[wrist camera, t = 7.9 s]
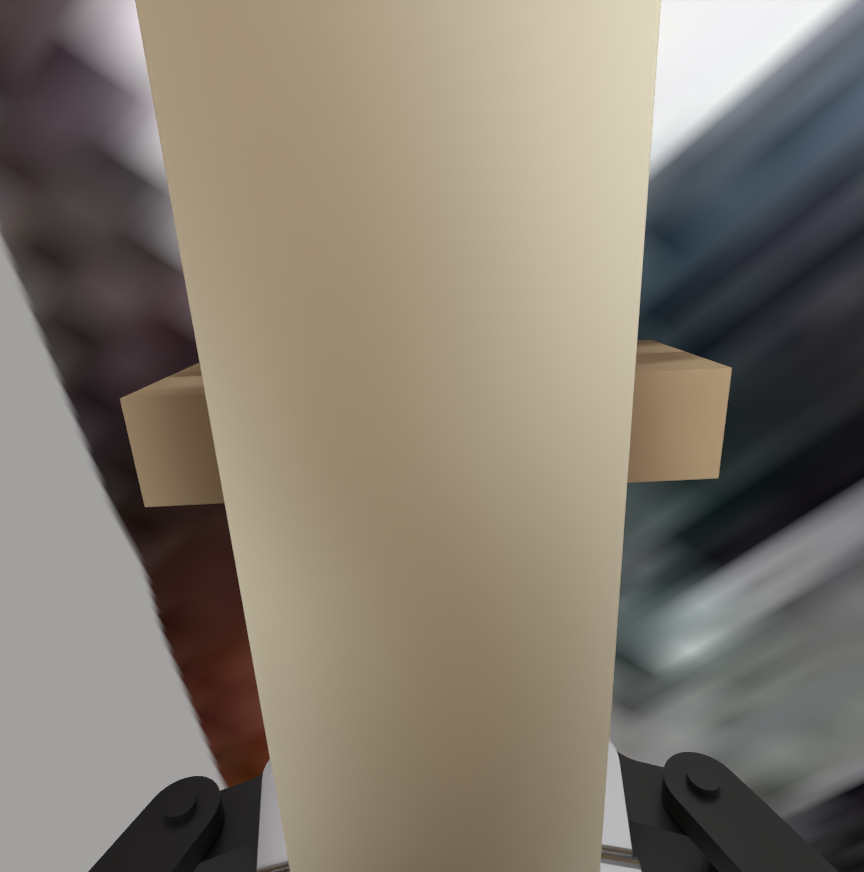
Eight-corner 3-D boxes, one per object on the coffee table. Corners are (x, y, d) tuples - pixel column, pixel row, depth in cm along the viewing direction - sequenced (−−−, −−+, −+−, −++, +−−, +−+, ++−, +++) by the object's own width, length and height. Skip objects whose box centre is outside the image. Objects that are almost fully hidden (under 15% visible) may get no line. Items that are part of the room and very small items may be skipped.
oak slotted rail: (650, 339, 22) (731, 367, 16) (644, 423, 23) (718, 478, 17) (199, 362, 22) (119, 398, 16) (214, 445, 23) (144, 507, 17)
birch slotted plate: (486, 176, 13) (665, -53, 4) (492, 656, 17) (581, 1134, 8) (341, 182, 13) (129, -28, 4) (383, 662, 17) (339, 1149, 8)
